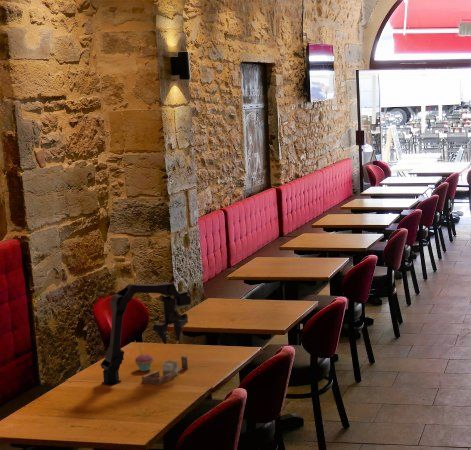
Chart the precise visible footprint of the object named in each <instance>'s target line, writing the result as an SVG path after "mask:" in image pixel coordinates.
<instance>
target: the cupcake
mask: <svg viewBox="0 0 471 450" xmlns="http://www.w3.org/2000/svg"><path fill="white" fill-rule="evenodd" d="M139 351H140V355H138V356H137V357H135V359H134V361H135V364H136V365H137V367H138V369H139V371H141V372H147V371H149V370H150V369H151V365H152V363H153V362H154V358H153V356H151V355H150V354H143V349H142V346H141V345H139Z"/></svg>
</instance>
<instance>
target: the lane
mask: <svg viewBox="0 0 471 450" xmlns="http://www.w3.org/2000/svg"><path fill="white" fill-rule="evenodd" d="M173 377H174V376H173V374H172V373H170V374H167V375H165V376H163V375H162V376H160V371H159V370H156V371H152V372H151V373H148V374H146V375H143V376H141V382H142V383H144V384H149V385H153V386H159V385H162V384H163V383H167V382H169V381H171V380H173V379H174V378H173Z"/></svg>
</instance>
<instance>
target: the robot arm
mask: <svg viewBox="0 0 471 450" xmlns="http://www.w3.org/2000/svg"><path fill="white" fill-rule="evenodd" d="M135 294H158V295H159V294H161V295H160V297H158V299H157V300H158V301H159V302H162V309H163V310H162V311H161V315H163V319H162V322H157V323H154V324H153V325H152V331H155V332H156V333H157V335H158V336H159V337H160V339H161V341H162V343H163V344H164V345H166V344H167V333H168V331H169V330H168V327H171V326H173V328H174V333H175V337H176V339H177V340H180V338H181V337H180V336H181V334H182V333H181V332H182V330H183V328H184V327H185V326H186V325H187V324H188V321H189V320H188V319H189V317H188V314H187V313H183V314H179V311H178V310H176V307H177V308H183V307H188V306H190V305H191V304H192V299H191V296H190V295H189V291H182V292H179V291H178V290H177V287H176V285H175V284H174V283H171V282H168V281H164V282H158V283H156V284H150V283H149V284H146V283H145V284H143V283H142V284H137V283H128V284H127V285H126V286H125V287H124V288H122V289H121V290H119V291H118V292H117V293H116V294H113V295H112V296H111V297H110V300H109V301H110V302H109V304H110V310H111V313H112V317H111V329H110V339H109V346H108V347H107V350H106V351H105V352H106V353H105V356H104V359H103V360H102V362H100V368H101V369H103V371H102V376H103V381H102V382H101V384H104V385H107V386H114V385H116V384H118V383H121V382H122V380H121V379H120V376H119V373H120V372H119V371H120V367H121V365H122V364H123V361H124V359H125V358H124V355H125V351H124V350H123V349H121V342H122V341H121V339H122V331H123V330H122V329H123V328H122V327H123V319H124V318H123V317H124V315H125V312H126V311H127V308H128V304H129V303H130V302H131V300H132V299H133V297H134V295H135ZM164 295H165V296H164Z"/></svg>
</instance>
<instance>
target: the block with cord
mask: <svg viewBox="0 0 471 450" xmlns="http://www.w3.org/2000/svg"><path fill="white" fill-rule="evenodd" d="M180 360H181V361H180V362H181V363H180V364H181V368H180V369H179V364H178V361H175V360H169V359H168V360H167V361H164V362H162V363H161V365H162V367H161V368H162V376H165V375H167V374H170V373H172V374H173V377H176V376H178V375H179V372H180V371H186V370H189V366H188V365H189V364H188V356H187V355H182V356H181V357H180Z"/></svg>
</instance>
